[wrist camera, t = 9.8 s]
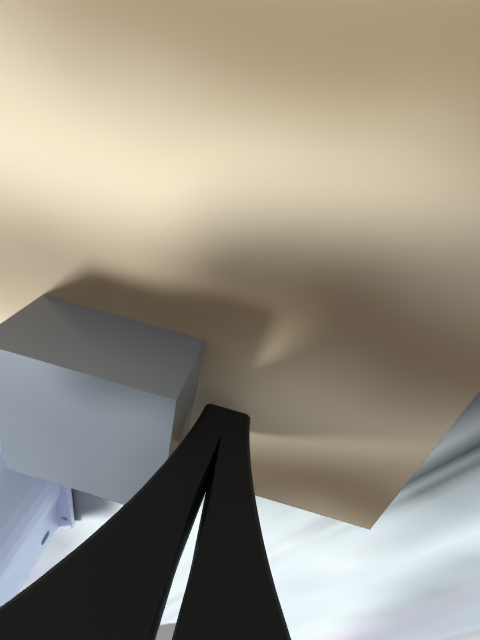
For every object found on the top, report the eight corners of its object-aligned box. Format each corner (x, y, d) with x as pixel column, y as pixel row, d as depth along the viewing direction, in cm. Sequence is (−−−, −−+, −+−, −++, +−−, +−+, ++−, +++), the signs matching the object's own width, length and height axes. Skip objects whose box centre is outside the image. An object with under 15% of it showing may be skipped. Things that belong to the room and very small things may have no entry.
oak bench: (359, 443, 17) (369, 529, 13) (3, 341, 18) (-71, 397, 14) (594, 54, 9) (769, 25, 5) (-89, -99, 10) (-310, -208, 6)
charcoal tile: (185, 449, 13) (159, 515, 11) (56, 410, 13) (6, 468, 11) (205, 339, 10) (176, 400, 8) (42, 294, 11) (-26, 341, 8)
